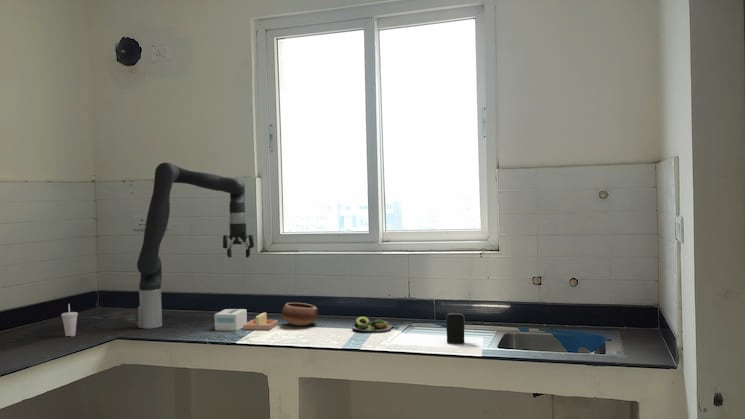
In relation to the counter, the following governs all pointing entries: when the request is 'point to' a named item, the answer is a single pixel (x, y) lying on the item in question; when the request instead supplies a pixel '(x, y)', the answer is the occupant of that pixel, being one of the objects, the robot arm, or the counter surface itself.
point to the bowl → (299, 313)
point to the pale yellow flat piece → (261, 319)
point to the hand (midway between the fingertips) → (238, 257)
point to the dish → (252, 325)
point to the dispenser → (230, 319)
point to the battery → (455, 328)
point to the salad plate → (371, 325)
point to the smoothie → (69, 322)
